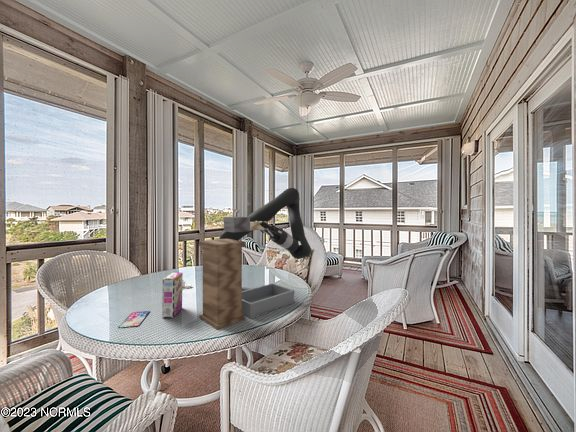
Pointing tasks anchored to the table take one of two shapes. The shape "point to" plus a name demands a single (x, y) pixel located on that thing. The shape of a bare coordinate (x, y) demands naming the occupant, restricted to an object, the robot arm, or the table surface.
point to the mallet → (241, 224)
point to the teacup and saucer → (185, 285)
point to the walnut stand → (222, 282)
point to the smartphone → (134, 319)
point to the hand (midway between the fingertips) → (258, 222)
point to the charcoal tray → (265, 299)
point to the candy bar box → (172, 295)
